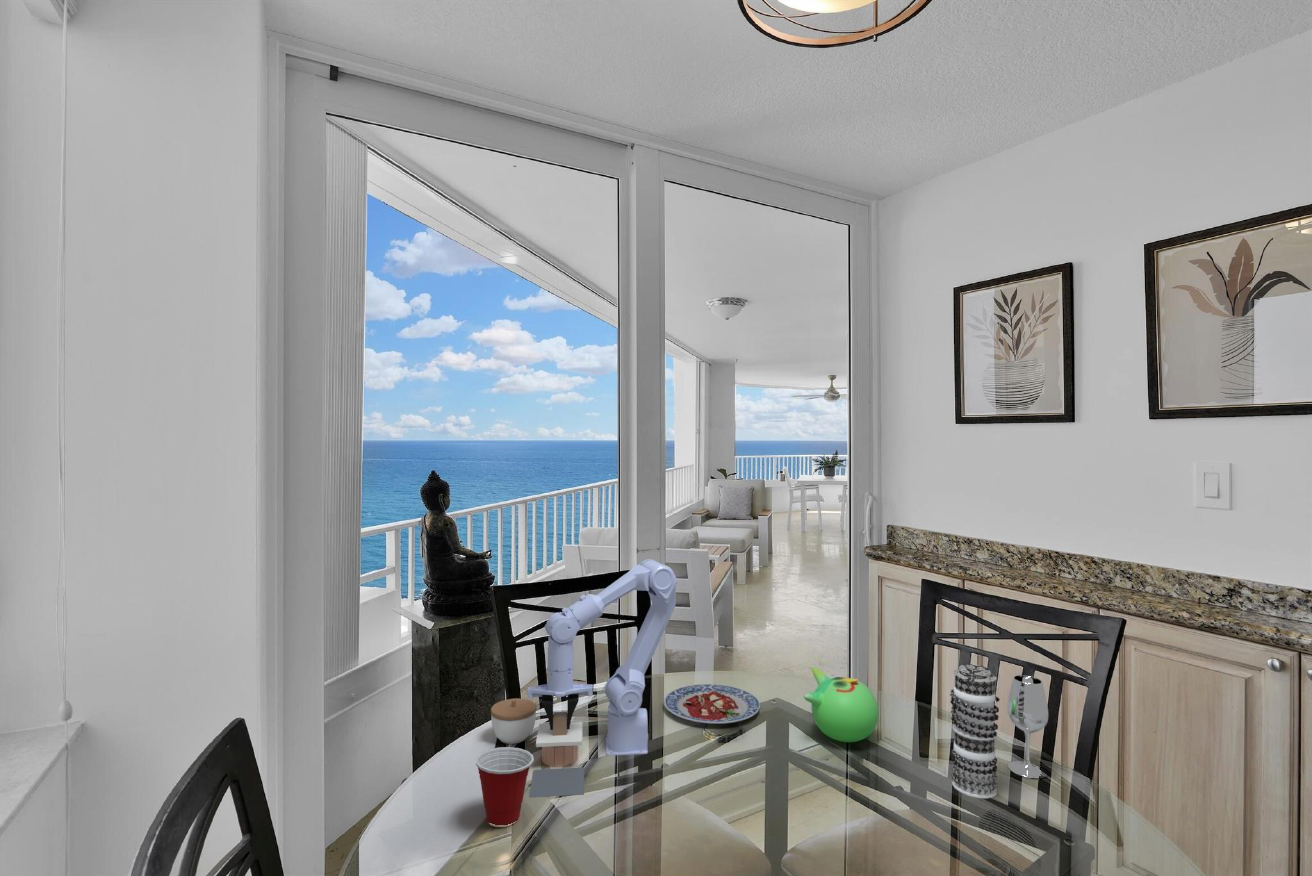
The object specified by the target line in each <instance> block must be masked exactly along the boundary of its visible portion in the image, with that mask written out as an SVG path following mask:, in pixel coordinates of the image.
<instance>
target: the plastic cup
mask: <svg viewBox="0 0 1312 876" xmlns="http://www.w3.org/2000/svg"><path fill="white" fill-rule="evenodd" d="M533 762H534V754H532V753H531V752H530V751H529V750H527V749H526V750H525V749H523V748H519V747H511V746H507V747H504V746H502V747H494V748H490V749H487V750H485V751H483V752H480V753H479V754H478V755H477V756H476V757H475V766H476V767H477V769H478V775H479V780H480V786H481V787H480V788H481V791H482V792H481V794H482V801H483V806H484V807H483V808H484V809H485V816H486V817H485V818H486V822H487V823H488V822H489V823H492V824H495V825H508V824H511V823H513V822H515V821H517V820H518V821H519V819H518V818H520V816H521V809H522V803H523V801H524V794H525V789H526V785H527V779H528V778H527V777H528V775H529V771H530V770H531V769H530V768H531V765H532V764H533ZM518 821H517V822H518Z"/></svg>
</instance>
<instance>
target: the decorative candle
mask: <svg viewBox="0 0 1312 876" xmlns="http://www.w3.org/2000/svg"><path fill="white" fill-rule="evenodd" d="M953 674H954V685H953V688H952V689H950V694H949V696H950V704H951V710H950V713H951V718H950V719H951V721H952V730H953V732H954V740H953V748H952V751H951V754H952V758H951V761H952V763H953V764H952V765H951V771H952V774H951V778H952V782H951V784H952V785H951V786H953V787H954V789H955V790H957V791H958V792H959V793H961V794H963V795H966V796H968V797H971V798H975V799H991V798H994V797H995V796H997V794H998V793H997V791H998V789H997V786H998V783H997V781H998V780H997V778H998V775H997V770H998V766H997V763H998V758H997V757H996V747H995V739H996V738H998V737H997V736H998V732H997V730H998V729H999V725H998V724H997V723H996V722H995V721H998V720H999V717H1000V716H999V715H998V714H997V713H999V711H1000V710H999V708H1000V707H998V706H997V705H995V704H994V703H998V702H1000V700H1001V699H1000V698H999V697H997V696H996V690H995V689H996V688H995V682H996V681H997V676H996V675H995V674H993V673H992V671H991V670H990V669H989V668H988V667H986V666H983V665H980V664H975V663H965V664H964V663H963V664H961V665H959V667H957V669H955V670H953Z"/></svg>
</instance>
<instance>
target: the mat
mask: <svg viewBox="0 0 1312 876" xmlns="http://www.w3.org/2000/svg"><path fill="white" fill-rule="evenodd" d="M531 777H532V778H531V782H530V788H529V795H528V798H529V797H530V798H545V797H549V798H550V797H565V796H566V797H567V796H582V795H585V766H584V767H567V768H565V767H564V768H563V767H562V768H545V769H543V768H542V769H540V768H539V769H533V771H532V775H531Z"/></svg>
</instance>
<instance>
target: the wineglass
mask: <svg viewBox="0 0 1312 876" xmlns="http://www.w3.org/2000/svg"><path fill="white" fill-rule="evenodd" d="M1012 678H1013V679H1012V682H1011V686H1010V690H1009V694H1008V699H1007V714H1008V718H1009V719H1010V721H1011V722H1012V723H1013V725H1015V726H1016V727H1017V728H1018V729H1019V730H1021V731H1023V733H1024V737H1025V738H1024V739H1025V760H1014V761H1010V762H1009V763H1008V764H1007V767H1008V769H1009V771H1011V772H1012V773H1014V774H1016V775H1018V776H1021V777H1023V778H1027V779H1031V778H1034V777H1035V778H1038V776H1041V775H1040V774H1042V773H1041V770H1040V769H1039V768H1038V766H1039V765H1038V766H1036V765H1037V764H1036V765H1034V764H1035V763H1033V764H1031V763H1032V762H1031V761H1030V744H1031V743H1030V742H1031V741H1030V738H1031V734H1033V733H1037V732H1039V731H1041V730H1043V729H1044V728H1045V727H1046V726H1047V724H1048V721H1049V708H1048V701H1047V697H1046V696H1047V695H1046V693H1045V688H1044V687H1045V686H1044V683H1043V681H1042V680H1041V679H1039V678H1038V677H1034V676H1032V675H1031V676H1030V675H1025V674H1024V675H1022V674H1019V675H1015V676H1013V677H1012ZM1023 761H1025V762H1023ZM1033 776H1034V777H1033Z"/></svg>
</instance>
